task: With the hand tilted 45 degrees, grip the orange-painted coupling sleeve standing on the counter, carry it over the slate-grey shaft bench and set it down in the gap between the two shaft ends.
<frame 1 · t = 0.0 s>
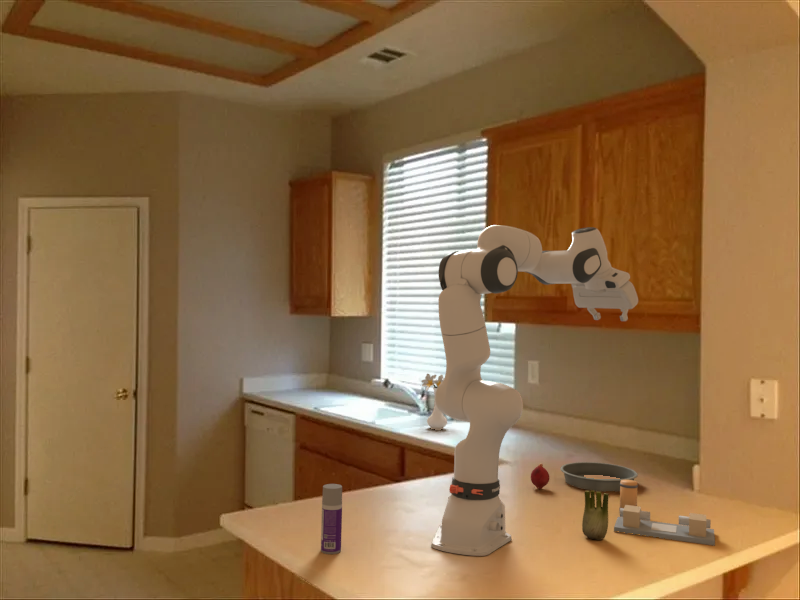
hand: (610, 319, 218), 54 cm above the worktop, tool tilted 30°, fingers open, 8 cm apart
container: (330, 551, 169), on the worktop
flower vase: (438, 429, 332), on the worktop
cake pan: (598, 484, 239), on the worktop
onion: (539, 489, 229), on the worktop
bench: (663, 532, 188), on the worktop
fennel bulb: (594, 539, 182), on the worktop
sleeve: (628, 513, 205), on the worktop
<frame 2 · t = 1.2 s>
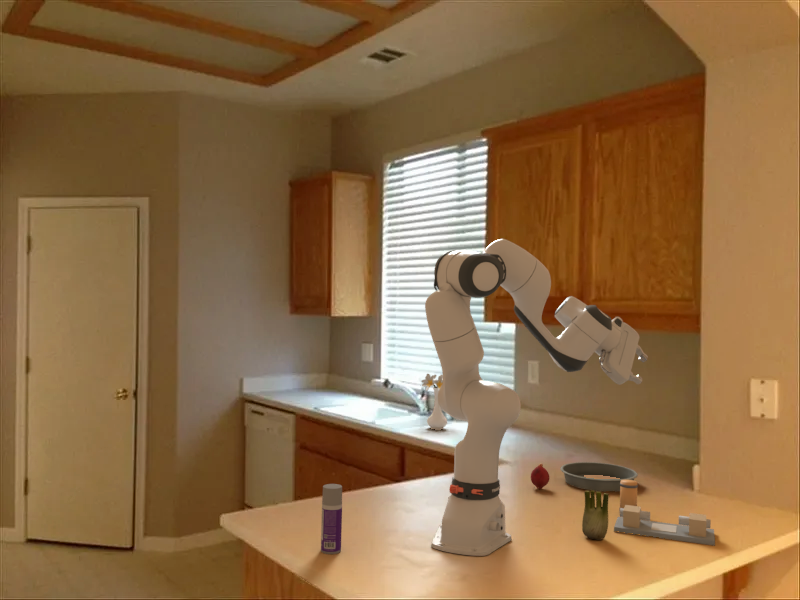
hand: (643, 370, 202), 41 cm above the worktop, tool tilted 55°, fingers open, 8 cm apart
nothing on the worktop moved.
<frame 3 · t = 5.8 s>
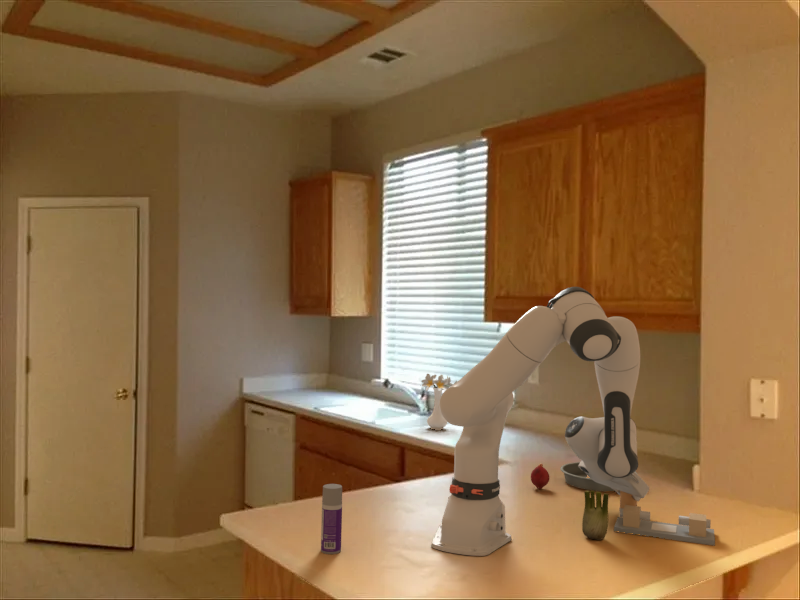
hand: (630, 496, 205), 5 cm above the worktop, tool tilted 45°, fingers closed on sleeve, 5 cm apart
sleeve: (628, 513, 205), on the worktop, touching gripper
everything else where it was.
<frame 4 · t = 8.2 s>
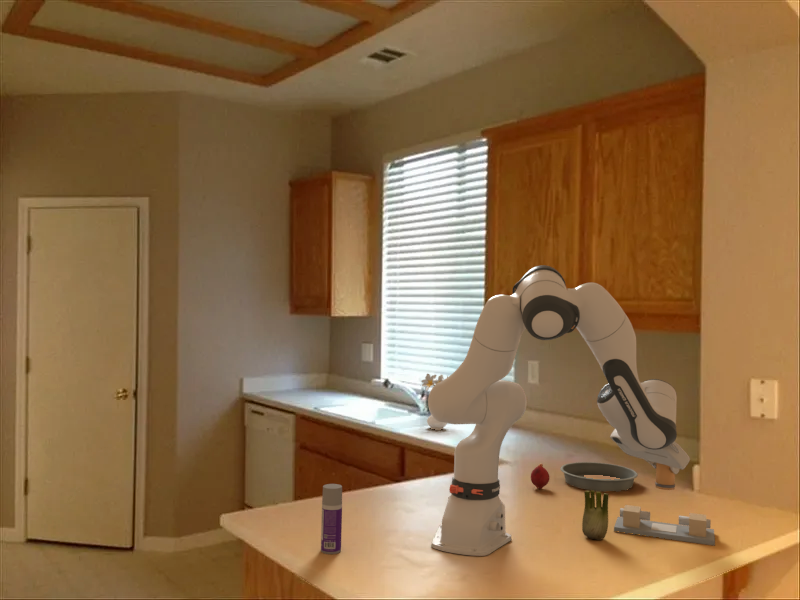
hand: (667, 469, 189), 16 cm above the worktop, tool tilted 45°, fingers closed on sleeve, 5 cm apart
sleeve: (665, 487, 188), point 12 cm above the worktop, touching gripper
everything else where it was.
when the fingers open (8 cm above the worktop, at t = 10.7 s): sleeve drops 2 cm, resting on bench.
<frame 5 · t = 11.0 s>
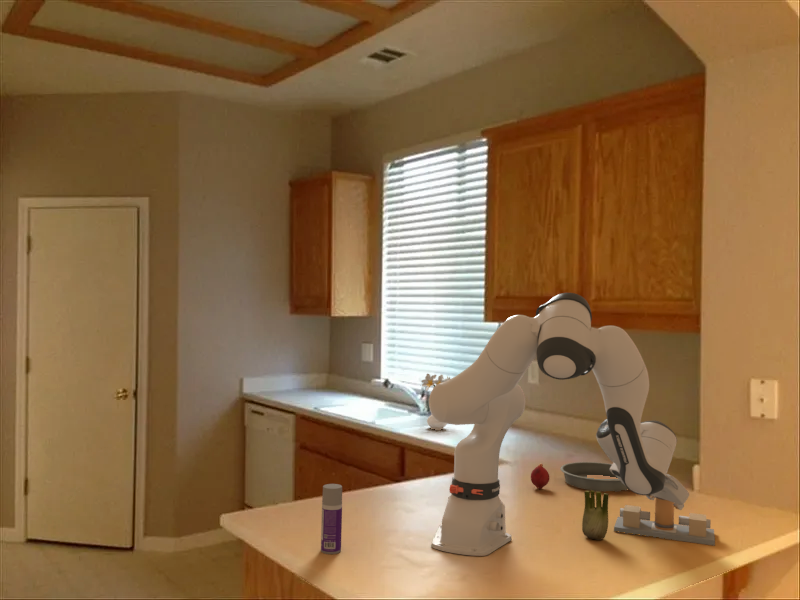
hand: (666, 502, 189), 8 cm above the worktop, tool tilted 45°, fingers open, 8 cm apart
sleeve: (664, 527, 188), point 1 cm above the worktop, touching bench
everything else where it was.
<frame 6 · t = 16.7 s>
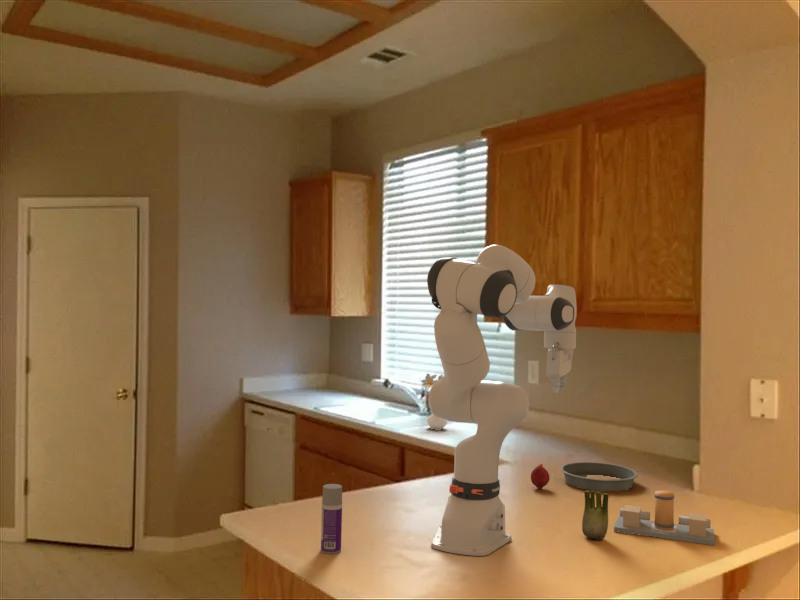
hand: (558, 390, 205), 34 cm above the worktop, tool pointing down, fingers open, 8 cm apart
nothing on the worktop moved.
at the end: sleeve 0.1 cm off-centre on the bench, point 1.4 cm above the bench's base; sleeve tilted 1°; the gripper is holding nothing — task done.
